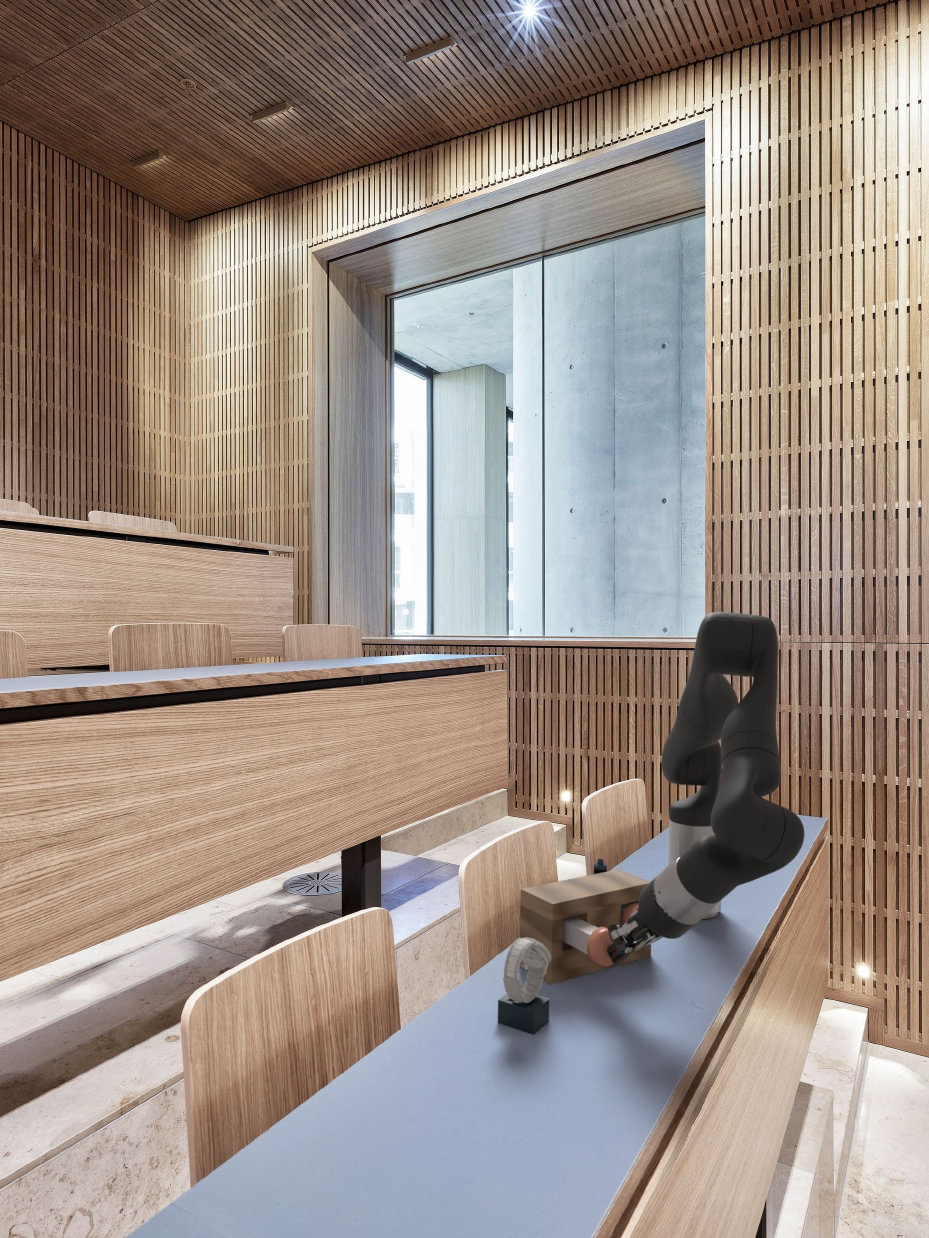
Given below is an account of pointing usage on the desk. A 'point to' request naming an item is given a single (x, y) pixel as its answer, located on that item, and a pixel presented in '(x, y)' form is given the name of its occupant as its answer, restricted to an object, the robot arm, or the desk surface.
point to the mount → (585, 900)
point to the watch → (525, 987)
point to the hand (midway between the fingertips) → (613, 956)
